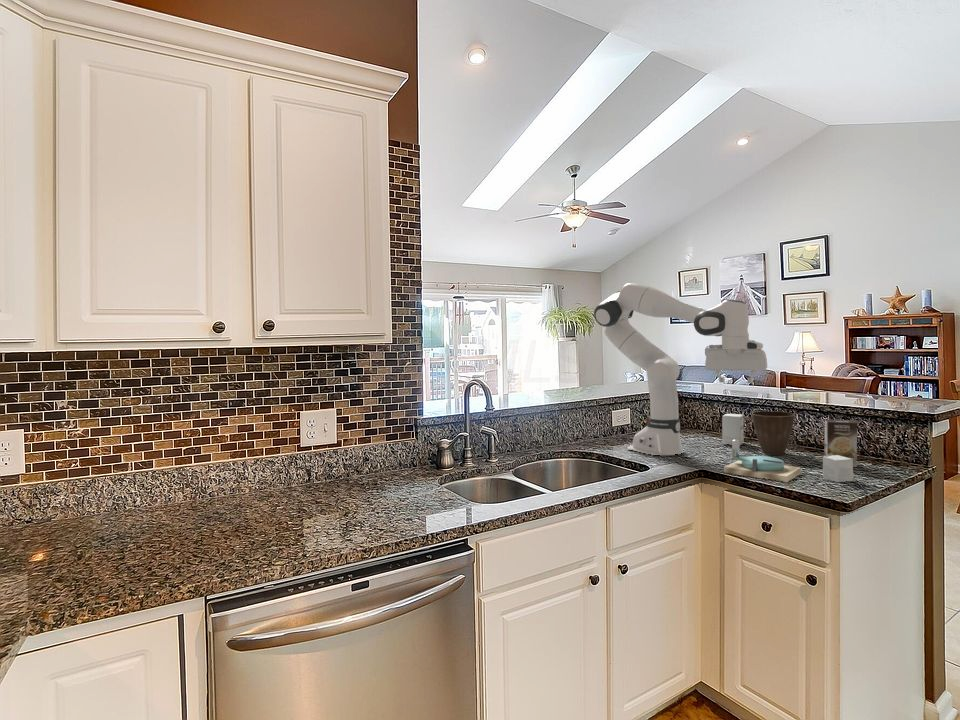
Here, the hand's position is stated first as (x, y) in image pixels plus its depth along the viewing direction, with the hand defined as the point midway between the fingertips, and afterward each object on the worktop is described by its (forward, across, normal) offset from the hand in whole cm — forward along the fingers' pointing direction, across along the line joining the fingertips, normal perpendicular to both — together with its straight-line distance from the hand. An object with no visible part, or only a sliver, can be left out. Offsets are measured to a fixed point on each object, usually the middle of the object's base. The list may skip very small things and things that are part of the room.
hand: (735, 382), depth 195 cm
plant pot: (+31, +9, +29) cm, 43 cm away
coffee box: (+31, +31, +19) cm, 48 cm away
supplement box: (+31, -8, +42) cm, 52 cm away
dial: (+29, +7, -4) cm, 30 cm away
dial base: (+31, +9, -4) cm, 32 cm away
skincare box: (+31, +31, -2) cm, 44 cm away
